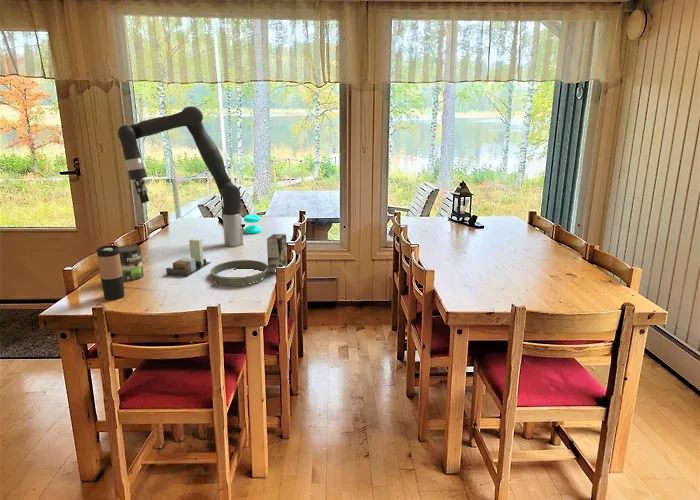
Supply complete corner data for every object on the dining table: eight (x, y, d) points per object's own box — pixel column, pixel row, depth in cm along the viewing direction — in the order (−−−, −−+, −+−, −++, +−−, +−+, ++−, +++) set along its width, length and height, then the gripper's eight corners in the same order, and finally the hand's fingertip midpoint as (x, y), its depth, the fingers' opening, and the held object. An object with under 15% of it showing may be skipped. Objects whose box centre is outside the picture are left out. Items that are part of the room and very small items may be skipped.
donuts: (245, 214, 289) (261, 214, 288) (246, 230, 291) (262, 230, 291) (241, 217, 279) (258, 217, 279) (242, 234, 282) (259, 234, 282)
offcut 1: (178, 271, 214) (177, 260, 213) (190, 272, 213) (189, 261, 212) (173, 273, 211) (172, 263, 209) (185, 275, 209) (184, 264, 208)
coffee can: (149, 278, 208) (145, 247, 204) (127, 285, 200) (123, 253, 196) (134, 274, 213) (130, 243, 209) (113, 280, 205) (108, 249, 201)
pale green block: (194, 262, 226) (192, 238, 222) (203, 263, 225) (201, 239, 221) (191, 264, 223) (189, 239, 220) (201, 265, 222) (198, 240, 219)
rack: (192, 262, 229) (192, 254, 228) (211, 264, 227) (211, 256, 226) (167, 277, 209) (166, 268, 208) (187, 278, 207) (186, 270, 206)
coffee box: (281, 273, 214) (279, 239, 210) (267, 272, 216) (266, 238, 211) (287, 267, 223) (286, 234, 218) (274, 266, 224) (273, 233, 220)
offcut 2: (184, 267, 219) (183, 257, 217) (196, 268, 217) (195, 258, 216) (179, 270, 215) (178, 260, 213) (191, 271, 213) (190, 261, 212)
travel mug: (108, 293, 191) (101, 245, 185) (128, 293, 191) (121, 245, 186) (100, 300, 183) (92, 251, 178) (121, 300, 184) (114, 250, 178)
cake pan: (208, 272, 217) (208, 262, 215) (262, 266, 225) (262, 257, 224) (214, 290, 195) (213, 280, 193) (273, 283, 203) (273, 273, 202)
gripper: (141, 167, 219) (151, 201, 223) (146, 167, 233) (155, 199, 236) (124, 170, 218) (134, 205, 221) (130, 170, 231) (139, 202, 235)
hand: (145, 202), depth 229 cm, fingers open, 8 cm apart
